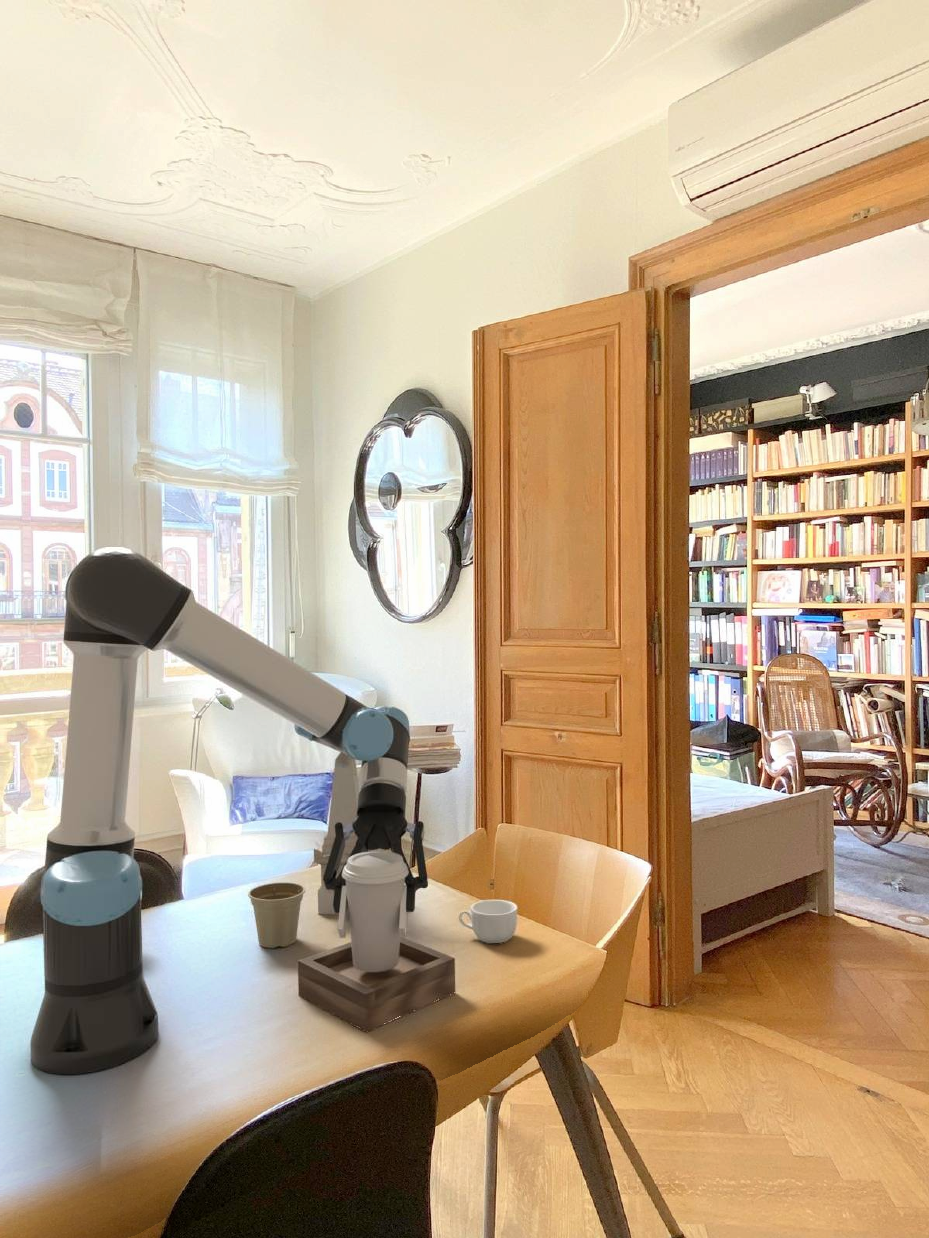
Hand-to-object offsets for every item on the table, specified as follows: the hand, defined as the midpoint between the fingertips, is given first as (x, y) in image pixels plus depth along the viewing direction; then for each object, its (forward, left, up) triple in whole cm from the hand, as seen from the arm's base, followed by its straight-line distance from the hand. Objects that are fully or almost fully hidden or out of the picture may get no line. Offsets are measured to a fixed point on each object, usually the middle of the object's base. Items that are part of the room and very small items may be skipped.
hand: (372, 932), depth 120 cm
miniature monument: (+22, +36, -10) cm, 44 cm away
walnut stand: (+2, +2, -10) cm, 11 cm away
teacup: (+28, +5, -10) cm, 31 cm away
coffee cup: (+2, +2, -6) cm, 7 cm away
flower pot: (+3, +30, -10) cm, 32 cm away
